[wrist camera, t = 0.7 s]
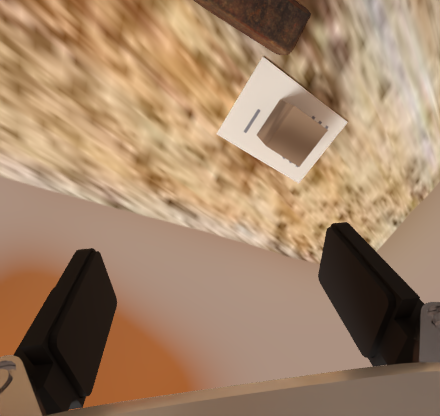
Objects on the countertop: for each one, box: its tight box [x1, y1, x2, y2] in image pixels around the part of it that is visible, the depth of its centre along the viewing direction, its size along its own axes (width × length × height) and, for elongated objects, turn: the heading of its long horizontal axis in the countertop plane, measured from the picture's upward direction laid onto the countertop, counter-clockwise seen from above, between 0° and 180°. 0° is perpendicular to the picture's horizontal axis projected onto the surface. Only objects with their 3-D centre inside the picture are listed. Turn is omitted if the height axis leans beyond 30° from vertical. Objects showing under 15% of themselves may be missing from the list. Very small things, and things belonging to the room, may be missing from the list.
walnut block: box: [257, 99, 328, 167], centre depth 31 cm, size 5×5×5 cm
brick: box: [194, 0, 311, 55], centre depth 25 cm, size 11×4×5 cm, turn 63°
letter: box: [217, 57, 347, 183], centre depth 34 cm, size 10×14×1 cm
